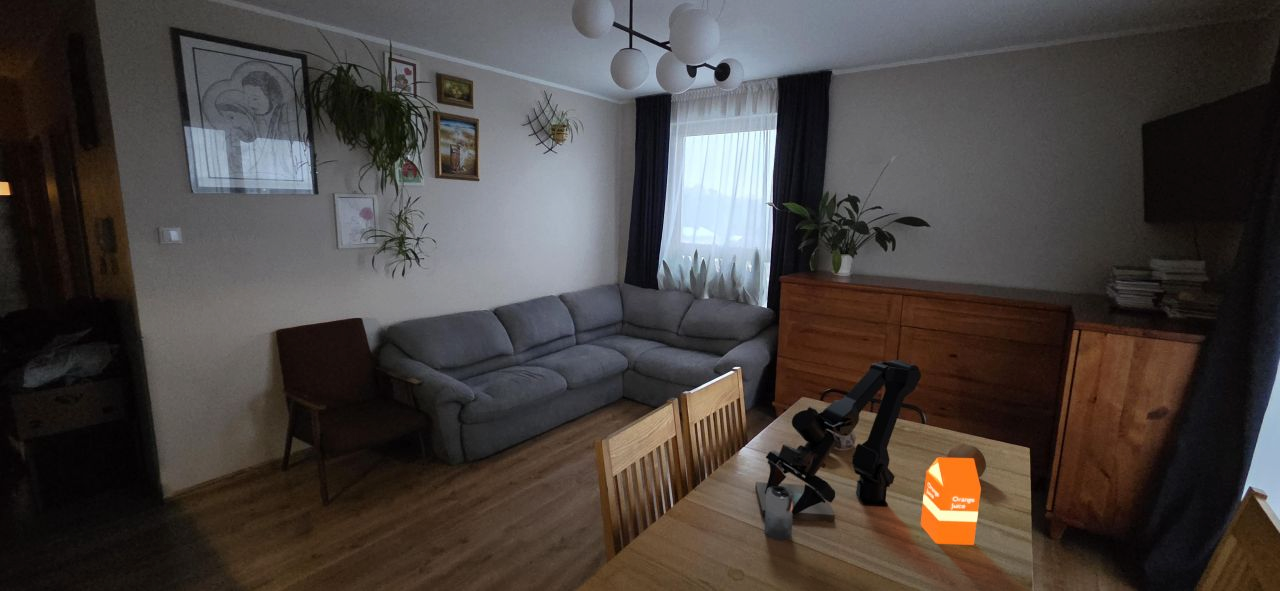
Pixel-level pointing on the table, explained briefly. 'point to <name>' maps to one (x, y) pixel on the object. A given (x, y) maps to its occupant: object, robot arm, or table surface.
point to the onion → (969, 456)
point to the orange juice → (951, 501)
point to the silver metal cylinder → (779, 513)
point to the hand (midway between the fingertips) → (778, 503)
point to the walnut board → (811, 513)
